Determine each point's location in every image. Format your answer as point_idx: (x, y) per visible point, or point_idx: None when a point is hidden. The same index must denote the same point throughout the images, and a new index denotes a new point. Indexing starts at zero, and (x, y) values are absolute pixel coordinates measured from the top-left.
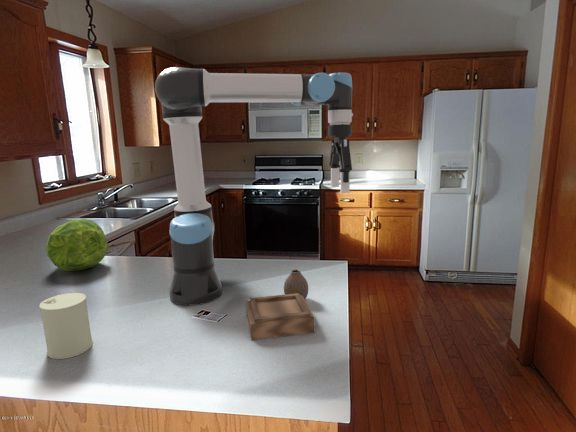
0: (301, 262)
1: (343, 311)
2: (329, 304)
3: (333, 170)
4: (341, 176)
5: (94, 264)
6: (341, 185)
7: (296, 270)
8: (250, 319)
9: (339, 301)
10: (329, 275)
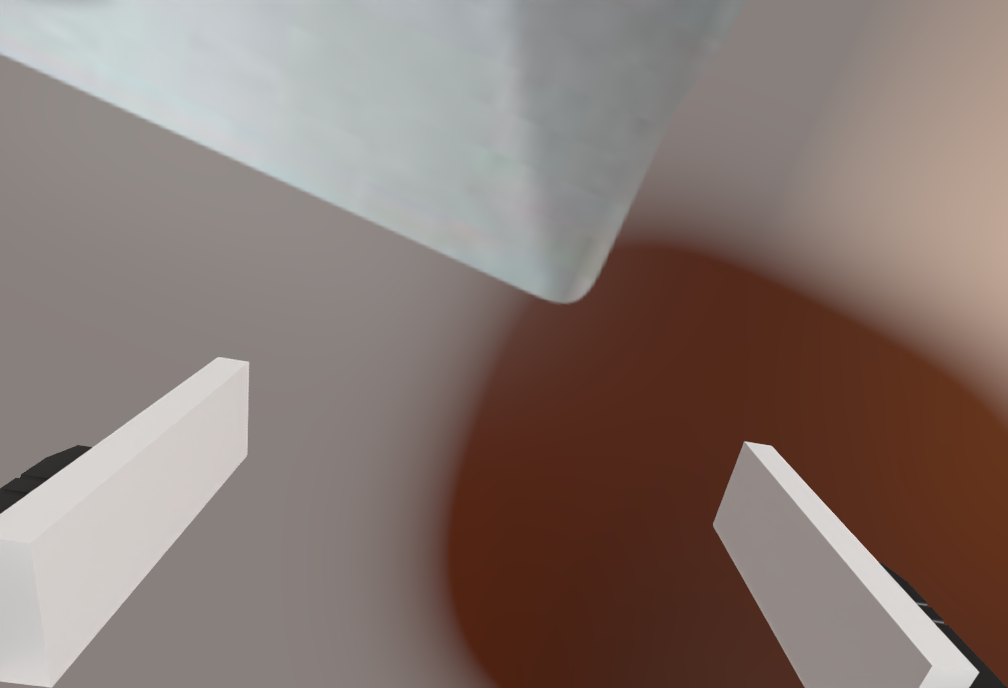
0: (648, 105)
1: (20, 60)
2: (93, 30)
3: (879, 657)
4: (50, 482)
5: None
6: (160, 403)
7: None
8: None
9: (118, 87)
10: (418, 170)
